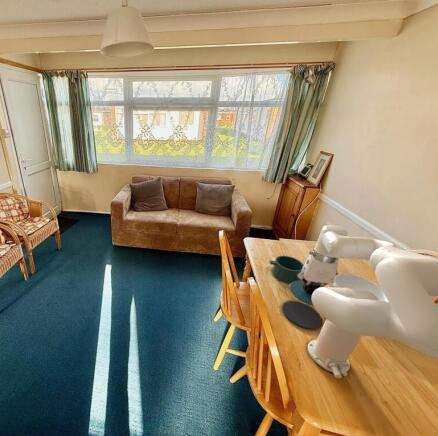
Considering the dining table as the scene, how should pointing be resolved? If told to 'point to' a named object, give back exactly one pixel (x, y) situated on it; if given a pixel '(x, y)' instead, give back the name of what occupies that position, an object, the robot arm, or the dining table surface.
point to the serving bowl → (359, 285)
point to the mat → (301, 315)
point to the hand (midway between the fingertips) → (310, 291)
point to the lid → (300, 294)
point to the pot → (286, 269)
